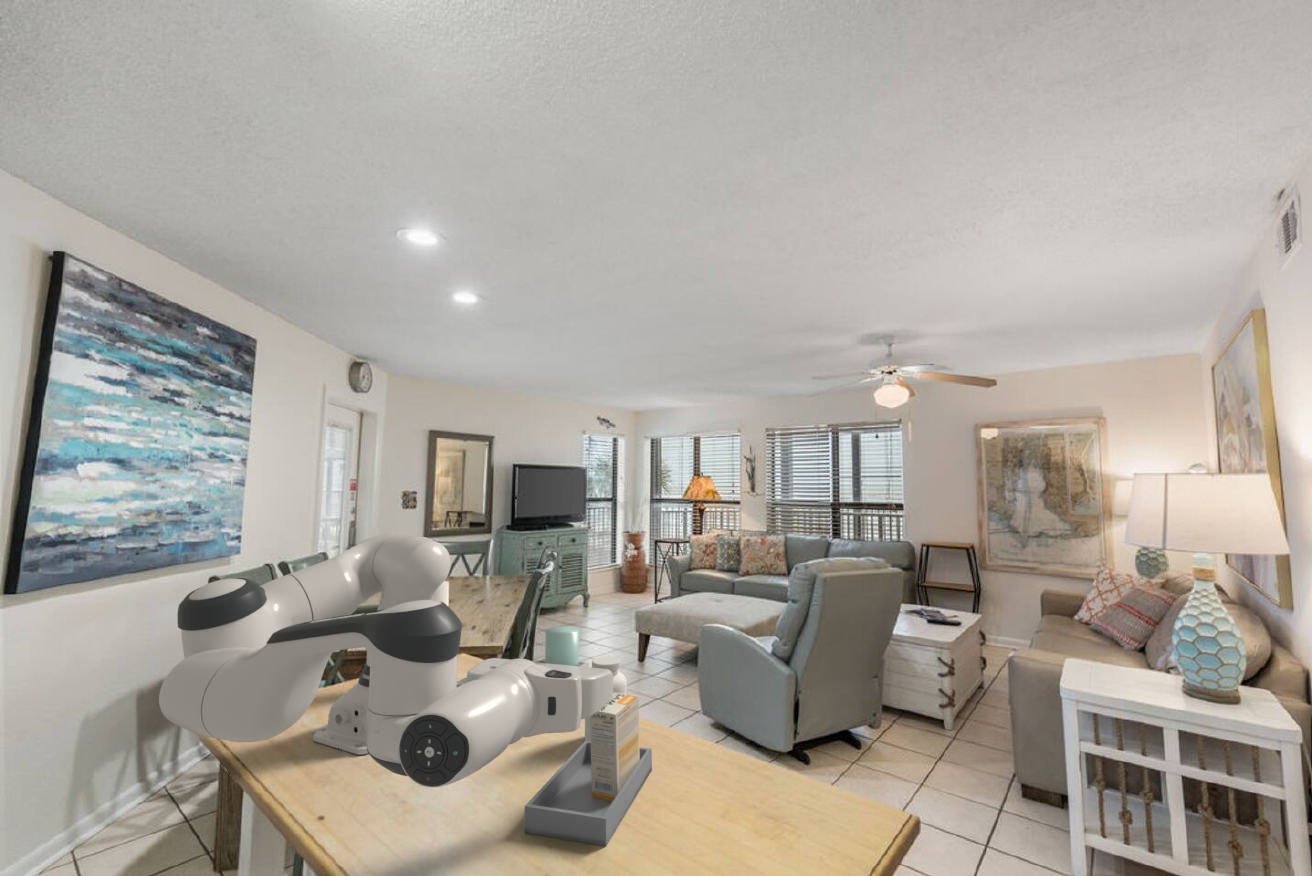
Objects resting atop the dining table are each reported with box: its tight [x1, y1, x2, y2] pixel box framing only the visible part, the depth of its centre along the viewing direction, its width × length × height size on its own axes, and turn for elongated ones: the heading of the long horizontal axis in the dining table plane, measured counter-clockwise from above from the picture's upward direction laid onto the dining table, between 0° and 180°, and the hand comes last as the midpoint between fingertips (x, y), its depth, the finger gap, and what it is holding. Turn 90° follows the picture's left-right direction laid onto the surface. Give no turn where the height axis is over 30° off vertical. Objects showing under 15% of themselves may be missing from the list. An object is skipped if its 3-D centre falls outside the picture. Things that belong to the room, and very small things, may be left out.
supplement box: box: [590, 693, 640, 802], centre depth 90 cm, size 8×5×13 cm, turn 156°
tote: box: [524, 740, 653, 847], centre depth 87 cm, size 12×21×4 cm, turn 164°
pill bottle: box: [584, 656, 628, 742], centre depth 108 cm, size 8×8×15 cm
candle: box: [544, 625, 580, 666], centre depth 84 cm, size 5×5×13 cm
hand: (565, 665), depth 85 cm, fingers closed on candle, 5 cm apart
